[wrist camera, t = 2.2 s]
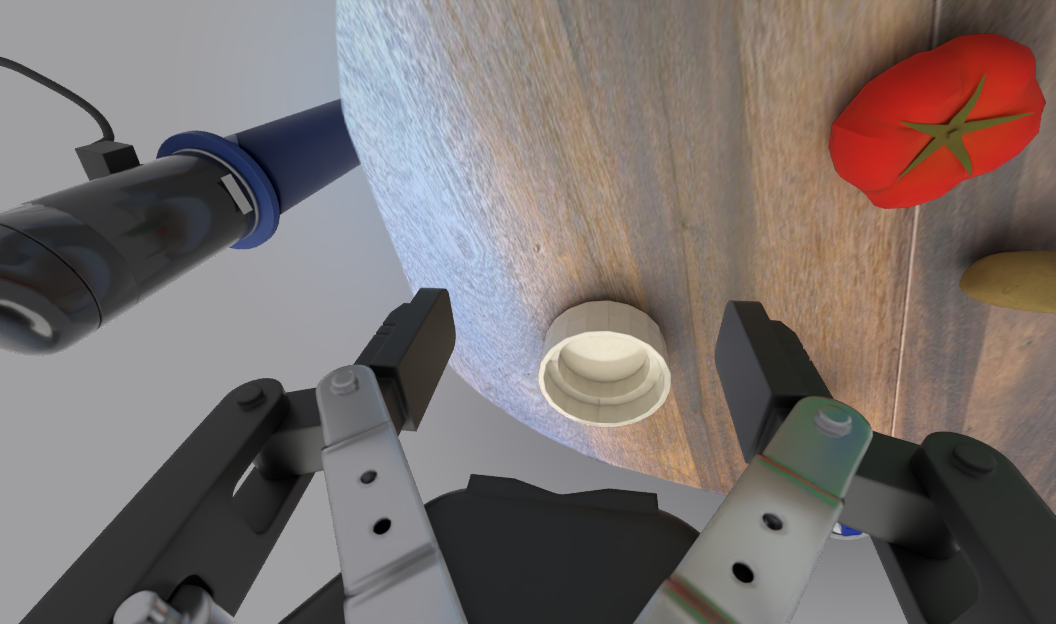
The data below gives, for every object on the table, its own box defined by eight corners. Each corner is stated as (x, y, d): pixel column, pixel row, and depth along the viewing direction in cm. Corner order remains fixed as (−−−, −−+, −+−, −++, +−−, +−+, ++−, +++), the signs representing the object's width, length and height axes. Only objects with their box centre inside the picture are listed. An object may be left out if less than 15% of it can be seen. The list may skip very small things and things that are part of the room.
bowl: (537, 375, 53) (530, 412, 48) (556, 285, 45) (549, 318, 40) (643, 397, 52) (647, 437, 47) (681, 310, 45) (690, 347, 40)
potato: (930, 258, 38) (996, 309, 31) (1040, 200, 34) (1142, 244, 27) (963, 308, 40) (1032, 366, 33) (1071, 258, 36) (1173, 312, 30)
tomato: (1011, 120, 31) (1093, 143, 26) (846, 209, 37) (887, 243, 31) (971, -4, 28) (1056, -7, 23) (796, 113, 33) (832, 133, 28)
